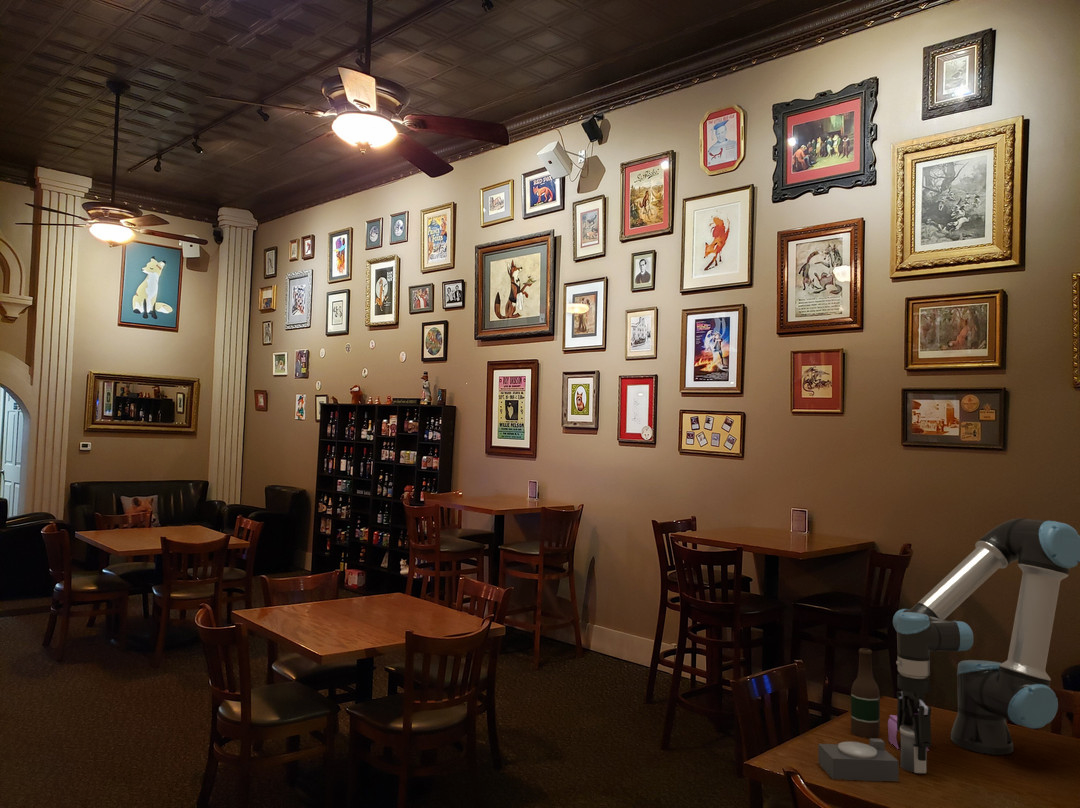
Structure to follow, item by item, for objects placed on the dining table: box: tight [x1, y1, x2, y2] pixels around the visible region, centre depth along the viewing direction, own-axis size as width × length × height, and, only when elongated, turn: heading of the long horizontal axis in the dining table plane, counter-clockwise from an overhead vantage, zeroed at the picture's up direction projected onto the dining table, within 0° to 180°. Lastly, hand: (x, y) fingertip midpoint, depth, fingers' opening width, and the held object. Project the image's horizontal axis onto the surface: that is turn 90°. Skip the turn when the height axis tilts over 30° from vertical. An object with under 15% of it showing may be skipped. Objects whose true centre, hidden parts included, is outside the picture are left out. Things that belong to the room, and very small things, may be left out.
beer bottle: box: [850, 647, 881, 739], centre depth 222 cm, size 8×8×24 cm
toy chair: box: [887, 713, 930, 752], centre depth 213 cm, size 8×9×15 cm
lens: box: [899, 725, 928, 774], centre depth 197 cm, size 6×6×10 cm
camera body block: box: [817, 738, 900, 782], centre depth 193 cm, size 16×10×7 cm, turn 90°
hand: (913, 767), depth 196 cm, fingers closed on lens, 6 cm apart
